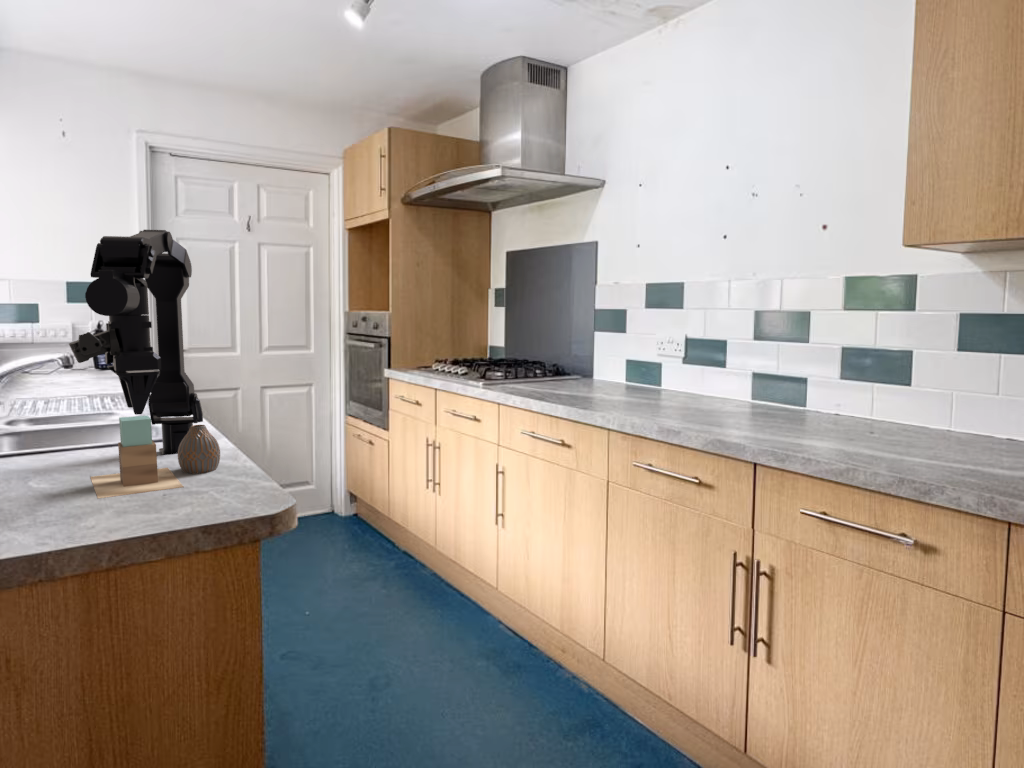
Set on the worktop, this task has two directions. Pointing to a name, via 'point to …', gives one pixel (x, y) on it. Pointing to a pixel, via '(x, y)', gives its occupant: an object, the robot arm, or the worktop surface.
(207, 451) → the vase
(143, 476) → the tower base
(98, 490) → the beech board
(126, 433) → the cube
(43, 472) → the worktop surface
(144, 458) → the tower top
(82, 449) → the worktop surface
